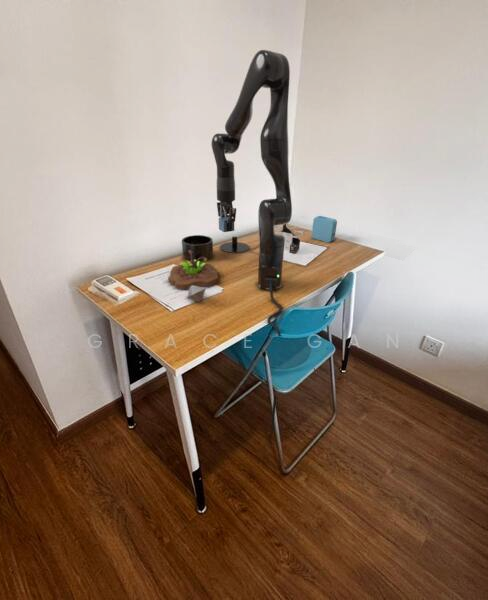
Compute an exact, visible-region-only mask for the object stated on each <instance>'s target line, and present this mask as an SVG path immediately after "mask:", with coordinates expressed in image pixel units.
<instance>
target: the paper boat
mask: <svg viewBox="0 0 488 600" xmlns="http://www.w3.org/2000/svg"><path fill="white" fill-rule="evenodd" d="M211 287H212V285H211V286H209V287H198V286H193V285H192V286H191V287H190V288H189V289H188V294H187V298H188V299H190V300H192V301H194V302H196V303H200V302H201V300H202V299H203V296H204V294H205V291H206V290H207V289H209V288H211Z"/></svg>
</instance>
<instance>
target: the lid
mask: <svg viewBox="0 0 488 600" xmlns="http://www.w3.org/2000/svg"><path fill="white" fill-rule="evenodd" d="M219 249H220V251H222V252H224V253H228V254H242V253H246V252H248V251H249V250H250V246H249V245H248V244H246V243H244V242H239V241H238V236H232V237H231V241H229V242H224V243H222V244H221V245H219Z"/></svg>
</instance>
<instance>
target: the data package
mask: <svg viewBox="0 0 488 600" xmlns="http://www.w3.org/2000/svg"><path fill="white" fill-rule="evenodd" d="M312 221H313V222H312V229H311V238H312V239H314V240H318V241H321V242H325V243H328V244H329V243H331V242H333V241H334V240H335V238H336V233H337V232H336V231H337V226H338V220H337V219H336V218H331V217H327V216H323V215H317V216H315V217H314V218H313V220H312Z"/></svg>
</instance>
